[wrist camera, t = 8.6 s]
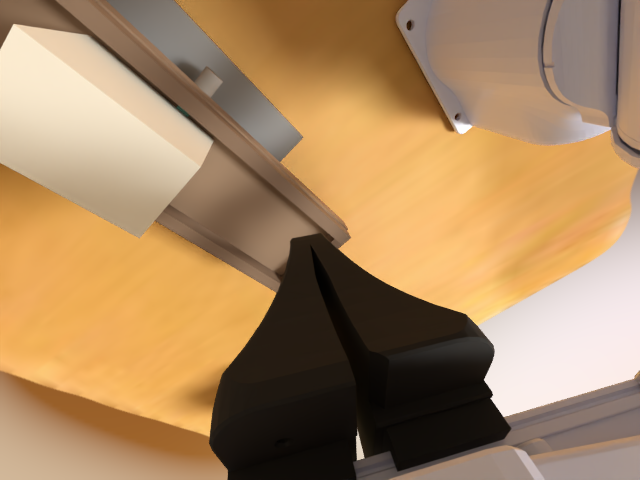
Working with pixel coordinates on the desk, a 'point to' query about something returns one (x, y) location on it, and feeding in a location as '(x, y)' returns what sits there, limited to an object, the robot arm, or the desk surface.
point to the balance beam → (213, 118)
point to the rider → (92, 128)
